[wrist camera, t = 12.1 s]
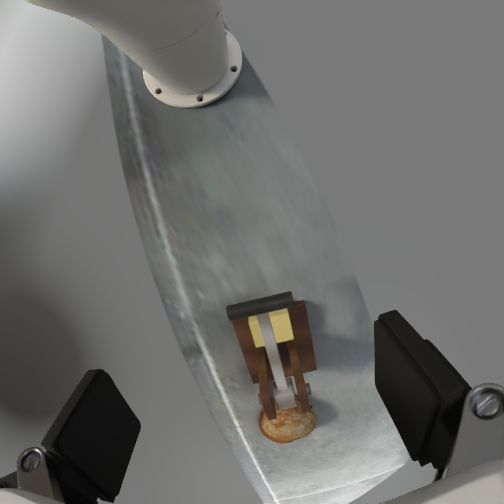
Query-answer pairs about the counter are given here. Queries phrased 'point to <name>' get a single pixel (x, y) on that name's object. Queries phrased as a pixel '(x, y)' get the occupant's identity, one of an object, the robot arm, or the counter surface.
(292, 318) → the cutter
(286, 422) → the bread roll
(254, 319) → the butter
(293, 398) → the arm
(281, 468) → the counter surface
